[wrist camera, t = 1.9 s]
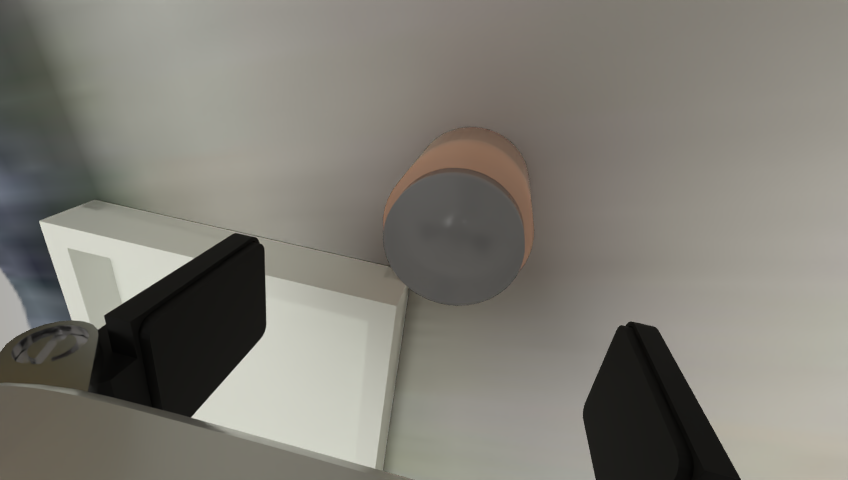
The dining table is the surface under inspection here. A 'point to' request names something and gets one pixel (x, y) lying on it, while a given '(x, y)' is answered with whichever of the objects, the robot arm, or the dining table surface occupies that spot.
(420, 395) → the dining table surface
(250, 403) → the tray
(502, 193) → the shaker
